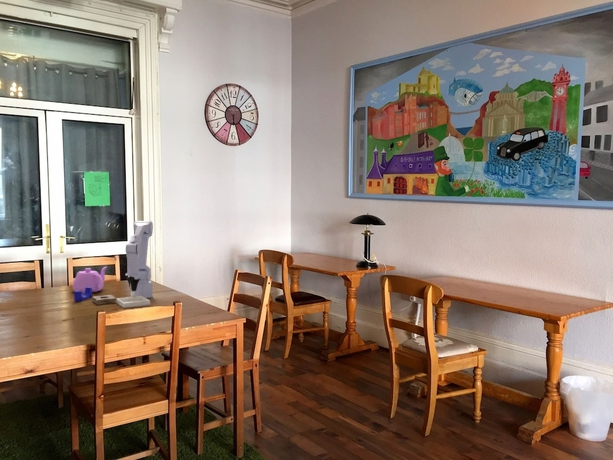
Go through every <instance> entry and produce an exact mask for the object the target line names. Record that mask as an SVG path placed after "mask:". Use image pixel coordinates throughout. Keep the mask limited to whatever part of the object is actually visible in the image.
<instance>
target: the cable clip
mask: <svg viewBox="0 0 613 460" xmlns="http://www.w3.org/2000/svg"><path fill="white" fill-rule="evenodd" d="M73 292H74V293H73V297H74V298H73V300H74V301H78V302H77V303H80V302H83V301H85V299H86V300H89V299H92V298H93V292H92V287H86V288H85V292H83V293H81V291H75V290H74V291H73ZM91 297H92V298H91ZM88 298H89V299H88ZM82 300H83V301H82Z"/></svg>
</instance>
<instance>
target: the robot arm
mask: <svg viewBox="0 0 613 460" xmlns="http://www.w3.org/2000/svg"><path fill="white" fill-rule="evenodd" d="M133 231H134V234H133V235H131V236H130V237H131V238H130V240H129V243H127V244H125V254H126V261H127V263H126V265H127V266H126V268H127V269H126V270H127V272H126V273H125V274H124V276H126V278H125V279H126V280H127V282H128V287H129V288H130V284H131V290H132V291H135V297H136V296H143V297H145V298H147V299H148V298H149V299H150V298H153V297H154V296H153V293H154V292H153V289H154V288H153V283H152V281H151V278H152V272H151V271H152V270H151V269H152V268H150V266H148V265H147V261H148V260H147V259H148V249H149V248H148V247H149V238H150V237H152V236H153V231H154V224H153V221H152V220H134V222H133Z"/></svg>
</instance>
